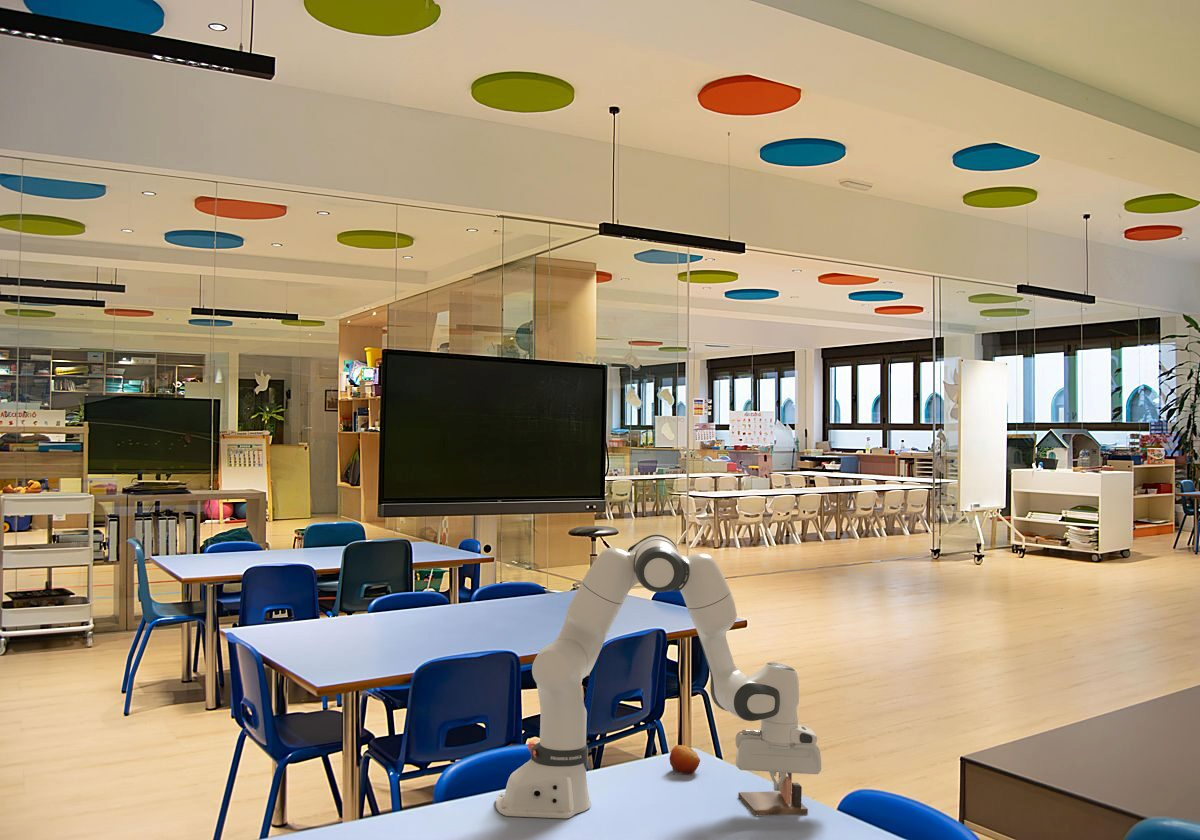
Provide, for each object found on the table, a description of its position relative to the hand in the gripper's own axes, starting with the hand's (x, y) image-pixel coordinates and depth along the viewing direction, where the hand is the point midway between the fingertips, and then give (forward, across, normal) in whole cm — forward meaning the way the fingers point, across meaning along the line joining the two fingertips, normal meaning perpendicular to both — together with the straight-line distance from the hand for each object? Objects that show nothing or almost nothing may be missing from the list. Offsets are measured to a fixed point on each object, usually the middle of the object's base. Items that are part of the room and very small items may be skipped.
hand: (777, 790), depth 230 cm
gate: (+2, +2, +2) cm, 4 cm away
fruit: (+4, -21, +24) cm, 32 cm away
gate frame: (+4, -1, +2) cm, 5 cm away
